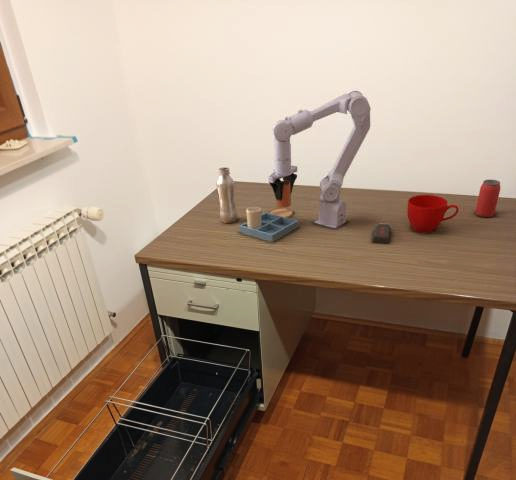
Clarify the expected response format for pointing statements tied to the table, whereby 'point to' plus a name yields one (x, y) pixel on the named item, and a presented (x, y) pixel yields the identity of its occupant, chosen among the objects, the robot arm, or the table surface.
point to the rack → (270, 227)
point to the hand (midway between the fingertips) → (283, 197)
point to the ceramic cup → (427, 212)
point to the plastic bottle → (226, 196)
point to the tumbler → (285, 196)
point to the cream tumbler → (254, 217)
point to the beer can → (488, 198)
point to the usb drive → (381, 233)
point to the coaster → (282, 212)
